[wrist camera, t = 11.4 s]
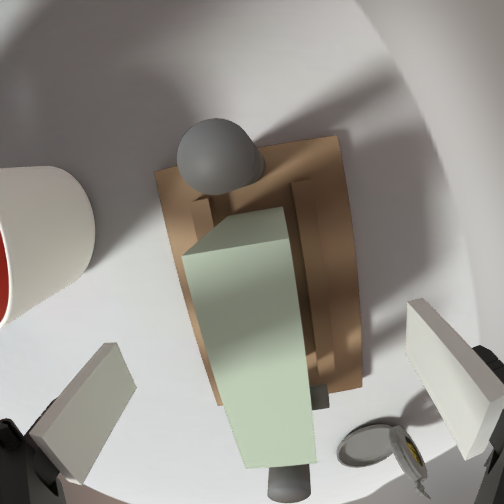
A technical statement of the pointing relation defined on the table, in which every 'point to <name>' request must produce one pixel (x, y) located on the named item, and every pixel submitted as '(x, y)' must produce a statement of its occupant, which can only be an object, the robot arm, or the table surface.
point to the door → (256, 337)
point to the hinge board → (300, 237)
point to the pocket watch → (384, 451)
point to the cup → (41, 236)
